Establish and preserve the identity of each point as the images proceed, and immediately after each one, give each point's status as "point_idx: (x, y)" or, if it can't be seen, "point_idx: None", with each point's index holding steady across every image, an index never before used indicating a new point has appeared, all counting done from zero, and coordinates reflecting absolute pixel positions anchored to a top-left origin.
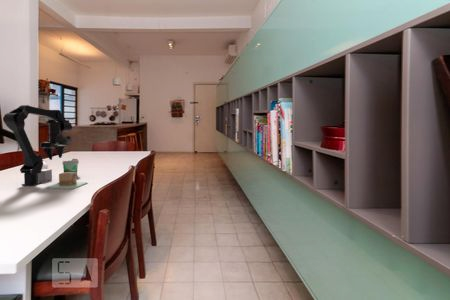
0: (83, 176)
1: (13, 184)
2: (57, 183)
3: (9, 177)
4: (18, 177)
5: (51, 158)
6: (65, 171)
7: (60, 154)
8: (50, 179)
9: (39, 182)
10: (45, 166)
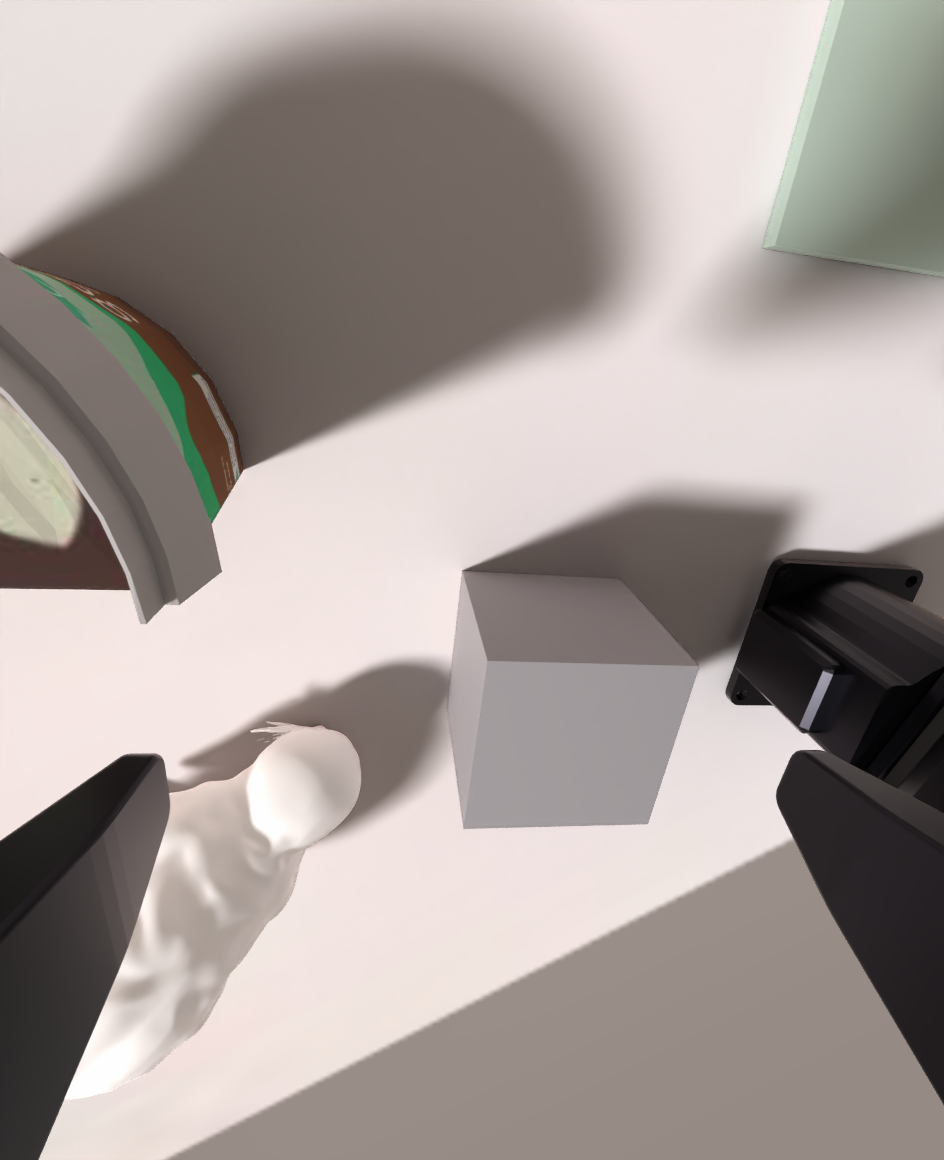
0: (17, 39)
1: (763, 797)
2: (930, 262)
3: (377, 1020)
4: (365, 964)
5: (869, 778)
6: (217, 461)
7: (78, 914)
8: (502, 575)
9: (781, 580)
10: (196, 909)
